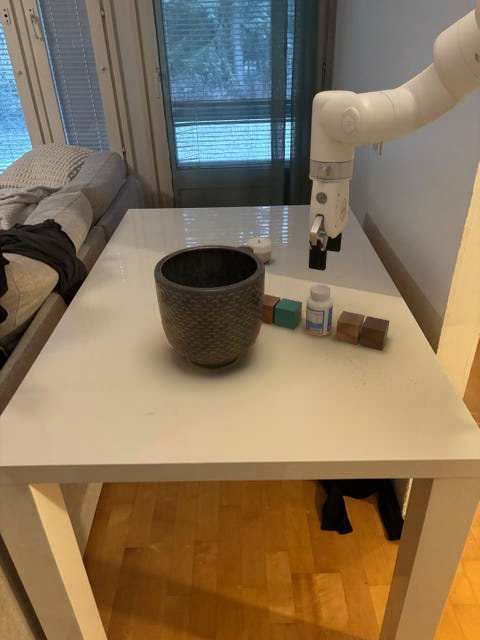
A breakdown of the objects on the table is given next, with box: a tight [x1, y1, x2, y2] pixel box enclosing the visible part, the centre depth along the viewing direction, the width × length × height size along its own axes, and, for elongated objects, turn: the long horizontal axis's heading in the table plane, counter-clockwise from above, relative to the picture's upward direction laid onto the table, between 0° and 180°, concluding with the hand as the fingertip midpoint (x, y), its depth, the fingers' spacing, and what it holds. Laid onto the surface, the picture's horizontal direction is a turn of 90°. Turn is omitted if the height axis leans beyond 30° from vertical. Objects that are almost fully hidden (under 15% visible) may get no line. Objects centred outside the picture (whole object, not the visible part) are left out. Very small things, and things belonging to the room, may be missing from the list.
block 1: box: [262, 293, 282, 325], centre depth 102 cm, size 4×4×4 cm
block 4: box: [359, 315, 391, 351], centre depth 93 cm, size 4×4×4 cm
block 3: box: [335, 310, 366, 345], centre depth 95 cm, size 4×4×4 cm
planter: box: [153, 244, 266, 370], centre depth 87 cm, size 20×20×19 cm
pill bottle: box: [305, 284, 334, 337], centre depth 97 cm, size 6×5×10 cm
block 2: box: [274, 297, 303, 330], centre depth 101 cm, size 4×4×4 cm
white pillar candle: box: [245, 237, 274, 264], centre depth 128 cm, size 8×8×7 cm
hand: (325, 259), depth 90 cm, fingers open, 9 cm apart
